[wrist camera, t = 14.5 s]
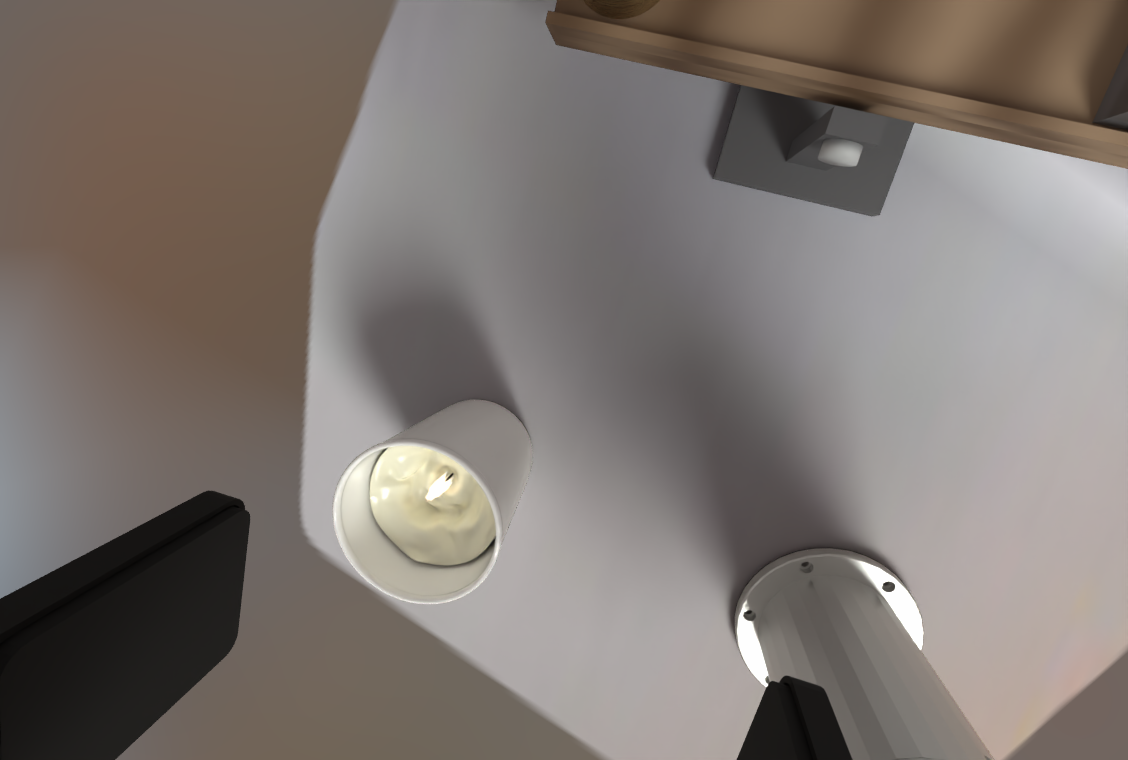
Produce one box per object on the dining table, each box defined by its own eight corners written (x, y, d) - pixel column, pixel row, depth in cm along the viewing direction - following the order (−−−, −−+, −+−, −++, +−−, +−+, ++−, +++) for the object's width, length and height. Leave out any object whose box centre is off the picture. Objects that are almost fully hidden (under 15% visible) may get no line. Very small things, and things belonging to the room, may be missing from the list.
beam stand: (974, -60, 30) (1106, -190, 22) (872, 216, 34) (947, 202, 25) (793, -94, 31) (847, -231, 23) (712, 178, 35) (732, 152, 26)
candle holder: (455, 363, 41) (376, 406, 29) (568, 434, 40) (533, 506, 29) (398, 466, 43) (305, 544, 32) (504, 534, 43) (448, 636, 32)
